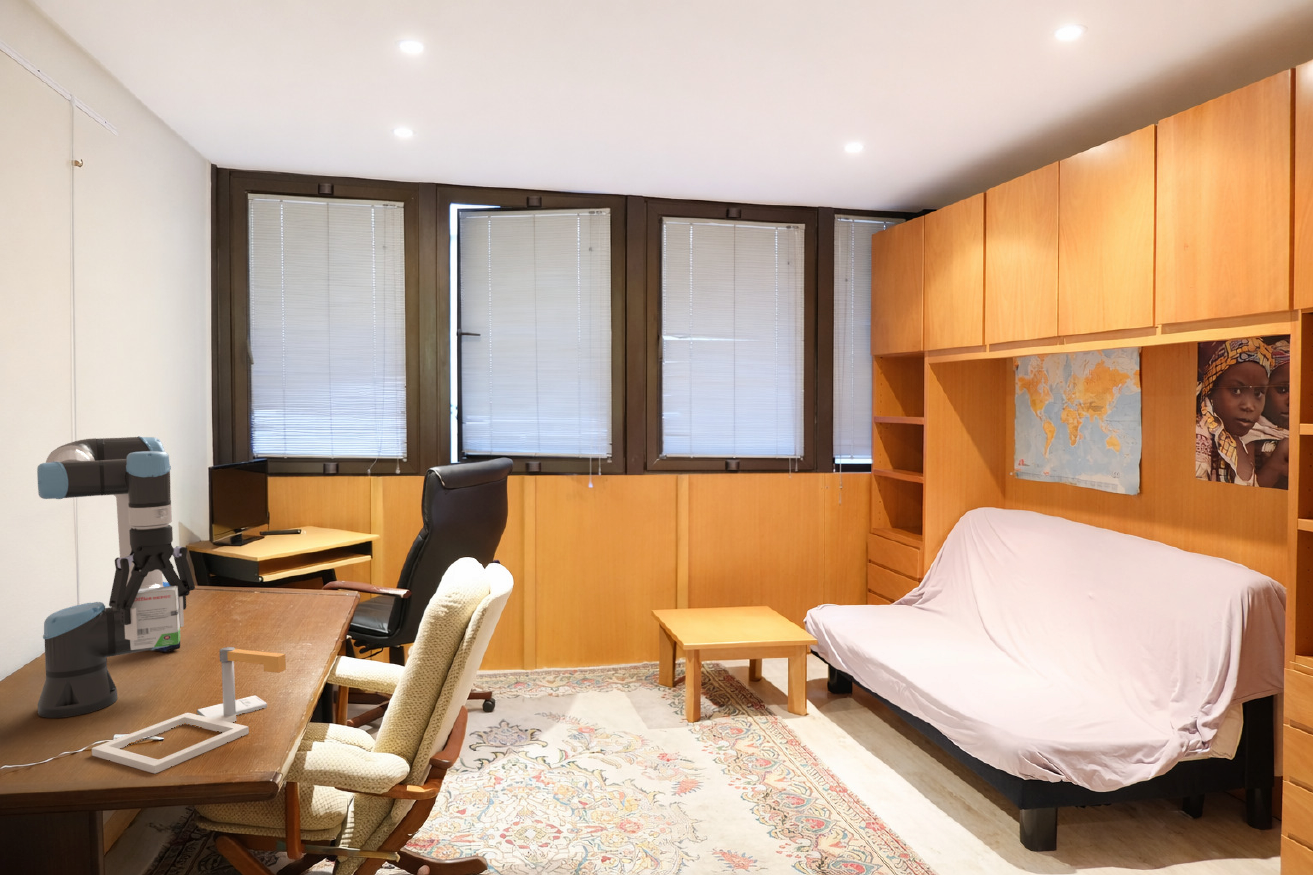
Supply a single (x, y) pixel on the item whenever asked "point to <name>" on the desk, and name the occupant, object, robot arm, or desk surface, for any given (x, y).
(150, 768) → the socket frame
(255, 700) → the external hard drive
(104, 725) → the desk surface
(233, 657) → the orange bar
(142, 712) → the desk surface
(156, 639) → the ink box
